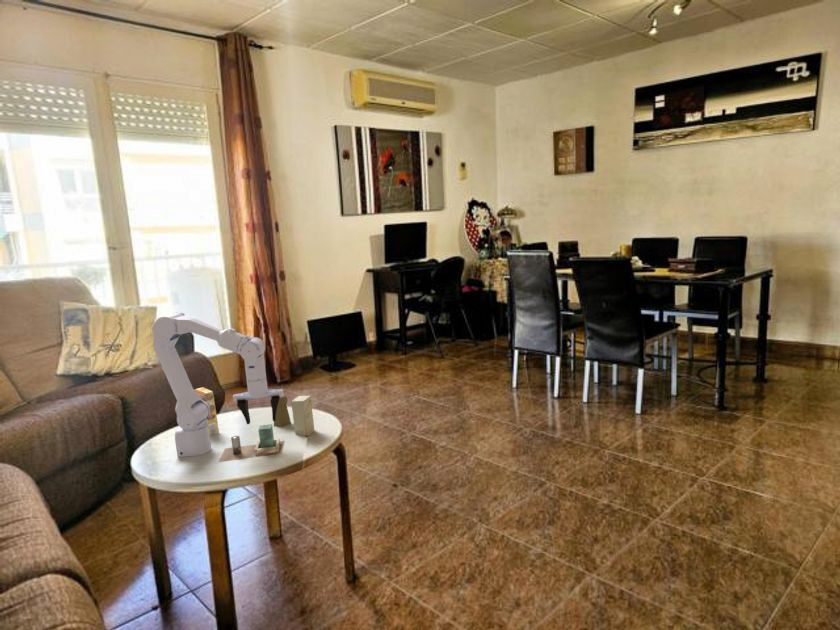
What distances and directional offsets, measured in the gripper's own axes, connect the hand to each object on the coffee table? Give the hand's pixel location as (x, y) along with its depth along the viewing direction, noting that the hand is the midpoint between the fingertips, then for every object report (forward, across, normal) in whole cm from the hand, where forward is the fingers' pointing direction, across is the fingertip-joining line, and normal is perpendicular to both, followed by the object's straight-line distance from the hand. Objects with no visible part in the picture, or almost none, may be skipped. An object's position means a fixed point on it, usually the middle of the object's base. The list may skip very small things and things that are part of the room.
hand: (261, 421), depth 165 cm
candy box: (+10, +22, -22) cm, 32 cm away
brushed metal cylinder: (+8, +8, +2) cm, 12 cm away
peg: (+8, -1, +1) cm, 9 cm away
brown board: (+9, +3, +2) cm, 10 cm away
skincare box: (+10, -12, -10) cm, 18 cm away
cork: (+10, -4, -20) cm, 23 cm away
